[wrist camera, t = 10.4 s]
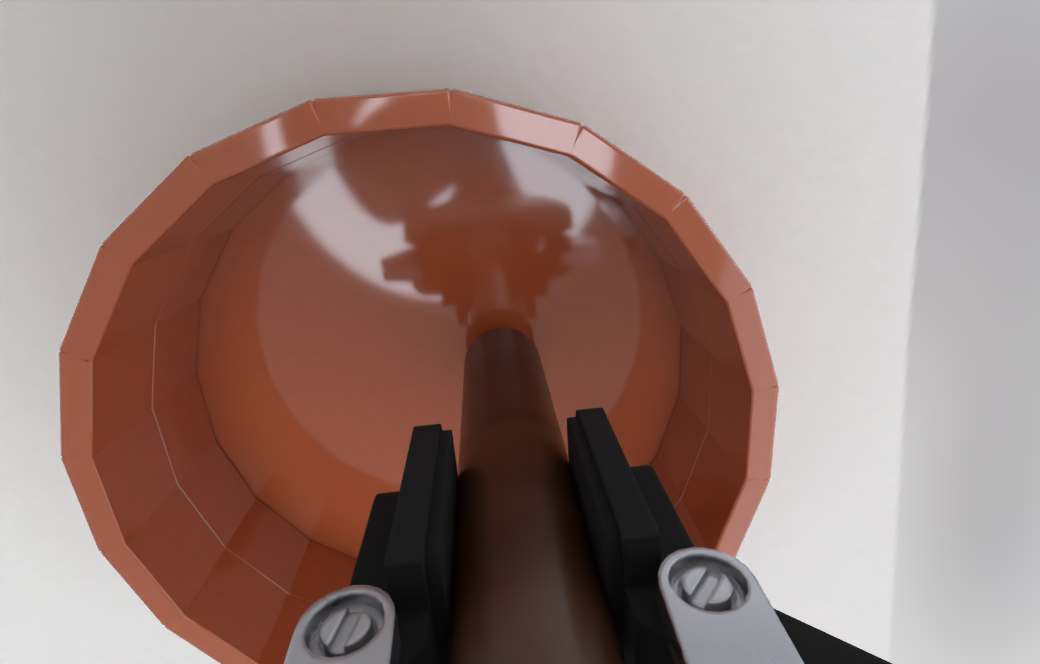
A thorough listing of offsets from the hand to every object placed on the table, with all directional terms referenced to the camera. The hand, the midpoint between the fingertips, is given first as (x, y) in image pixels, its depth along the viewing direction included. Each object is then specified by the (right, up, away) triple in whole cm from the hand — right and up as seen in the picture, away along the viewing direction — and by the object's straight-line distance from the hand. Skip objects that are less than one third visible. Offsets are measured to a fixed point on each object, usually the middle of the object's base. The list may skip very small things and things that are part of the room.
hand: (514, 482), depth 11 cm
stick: (0, +2, +6) cm, 7 cm away
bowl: (-2, +2, +8) cm, 9 cm away
